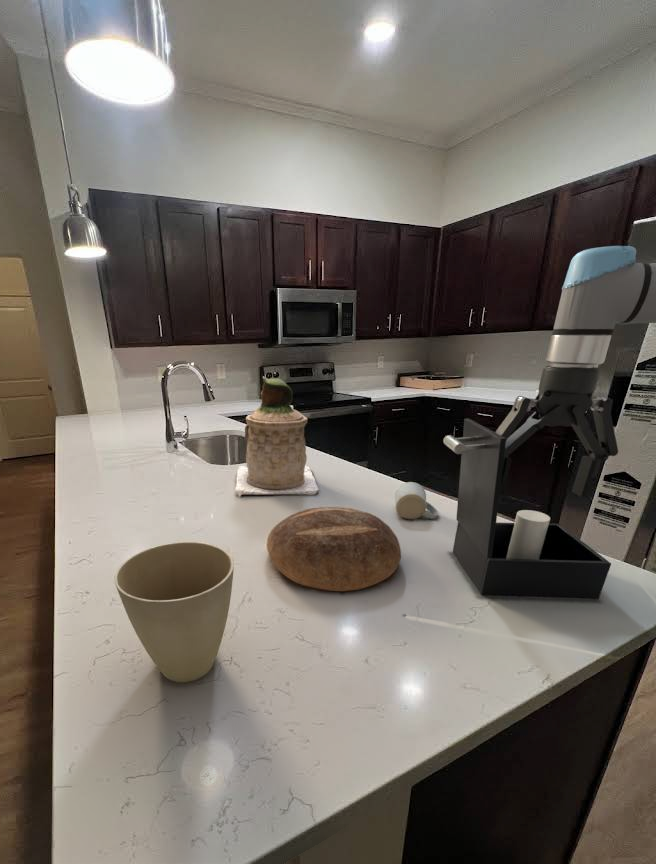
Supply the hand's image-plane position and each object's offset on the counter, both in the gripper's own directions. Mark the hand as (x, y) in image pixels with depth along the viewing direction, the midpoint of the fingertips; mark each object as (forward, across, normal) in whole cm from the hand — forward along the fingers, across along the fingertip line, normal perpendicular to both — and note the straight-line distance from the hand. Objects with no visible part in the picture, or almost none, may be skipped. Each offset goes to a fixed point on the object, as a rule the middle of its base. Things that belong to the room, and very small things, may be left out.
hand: (537, 493), depth 73 cm
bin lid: (-1, +10, 0) cm, 10 cm away
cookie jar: (+18, +49, -52) cm, 74 cm away
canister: (+16, 0, 0) cm, 16 cm away
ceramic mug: (+17, +12, -28) cm, 36 cm away
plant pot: (+18, +57, +26) cm, 65 cm away
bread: (+18, +35, -5) cm, 39 cm away
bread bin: (+17, 0, 0) cm, 17 cm away
